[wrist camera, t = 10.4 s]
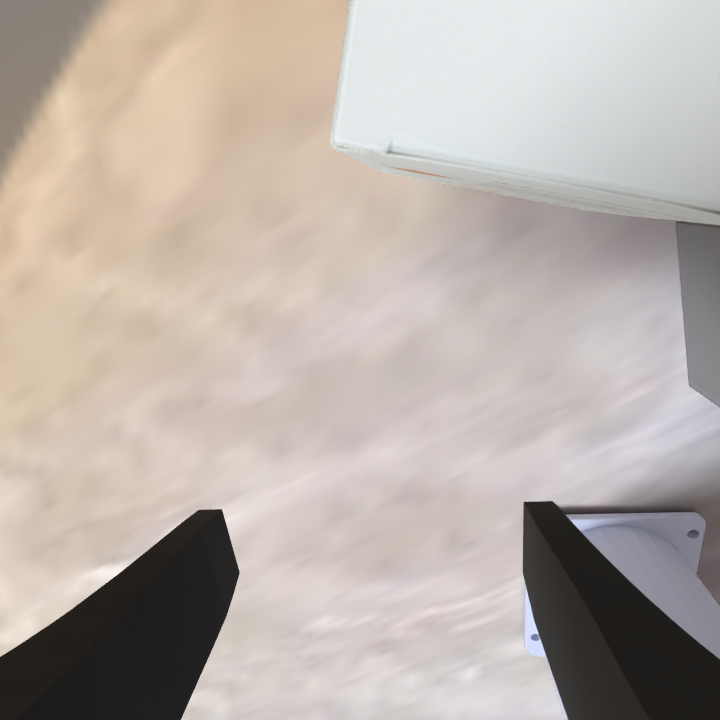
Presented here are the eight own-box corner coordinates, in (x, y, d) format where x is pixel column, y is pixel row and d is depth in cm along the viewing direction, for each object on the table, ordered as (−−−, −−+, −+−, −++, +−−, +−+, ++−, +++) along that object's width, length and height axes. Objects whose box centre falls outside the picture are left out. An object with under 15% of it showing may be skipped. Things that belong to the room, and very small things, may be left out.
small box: (636, 41, 15) (1071, -254, 5) (576, 212, 17) (802, 239, 7) (404, 0, 15) (390, -353, 5) (373, 173, 17) (322, 146, 7)
